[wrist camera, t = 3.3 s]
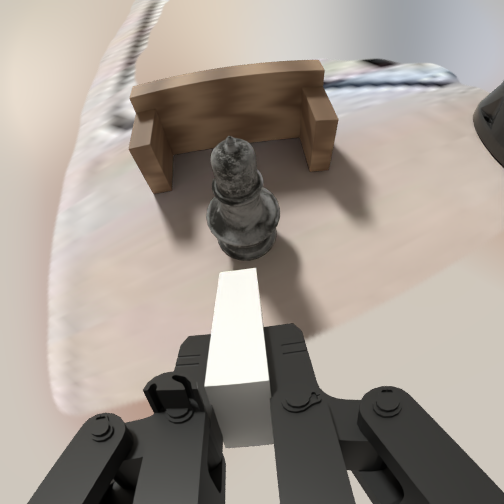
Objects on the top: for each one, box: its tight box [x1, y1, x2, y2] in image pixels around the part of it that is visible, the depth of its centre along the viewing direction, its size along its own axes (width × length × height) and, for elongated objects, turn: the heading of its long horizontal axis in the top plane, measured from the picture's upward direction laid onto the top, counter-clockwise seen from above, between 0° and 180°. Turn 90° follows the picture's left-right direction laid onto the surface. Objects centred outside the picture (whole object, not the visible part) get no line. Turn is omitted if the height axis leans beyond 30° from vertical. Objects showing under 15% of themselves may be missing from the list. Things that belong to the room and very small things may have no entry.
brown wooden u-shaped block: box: [129, 60, 338, 194], centre depth 28 cm, size 18×7×9 cm, turn 97°
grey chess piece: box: [206, 136, 280, 260], centre depth 22 cm, size 6×6×12 cm
